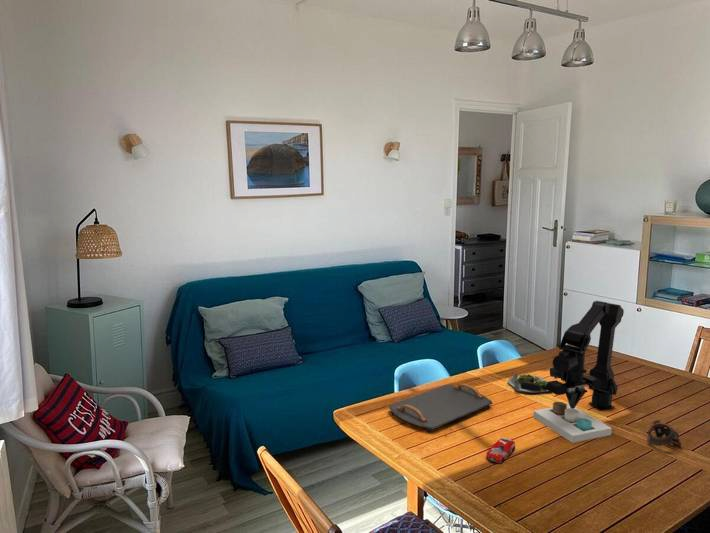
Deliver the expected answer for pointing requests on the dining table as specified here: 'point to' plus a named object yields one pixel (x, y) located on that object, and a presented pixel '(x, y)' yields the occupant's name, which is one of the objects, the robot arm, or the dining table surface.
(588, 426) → the key teal
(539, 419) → the keypad
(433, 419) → the serving board
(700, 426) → the dining table surface
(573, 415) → the key ivory
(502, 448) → the race car
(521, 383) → the salad plate
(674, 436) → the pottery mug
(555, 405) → the key walnut
